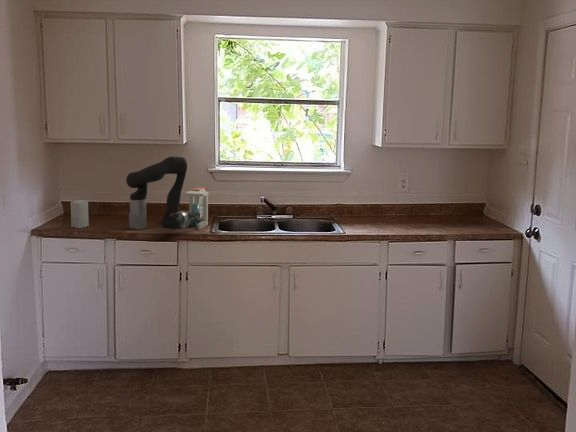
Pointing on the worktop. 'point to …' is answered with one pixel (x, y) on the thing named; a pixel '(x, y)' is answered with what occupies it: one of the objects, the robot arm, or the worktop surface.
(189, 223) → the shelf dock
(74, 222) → the skincare box
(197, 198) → the cracker box
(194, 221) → the canister
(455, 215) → the worktop surface
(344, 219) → the worktop surface
